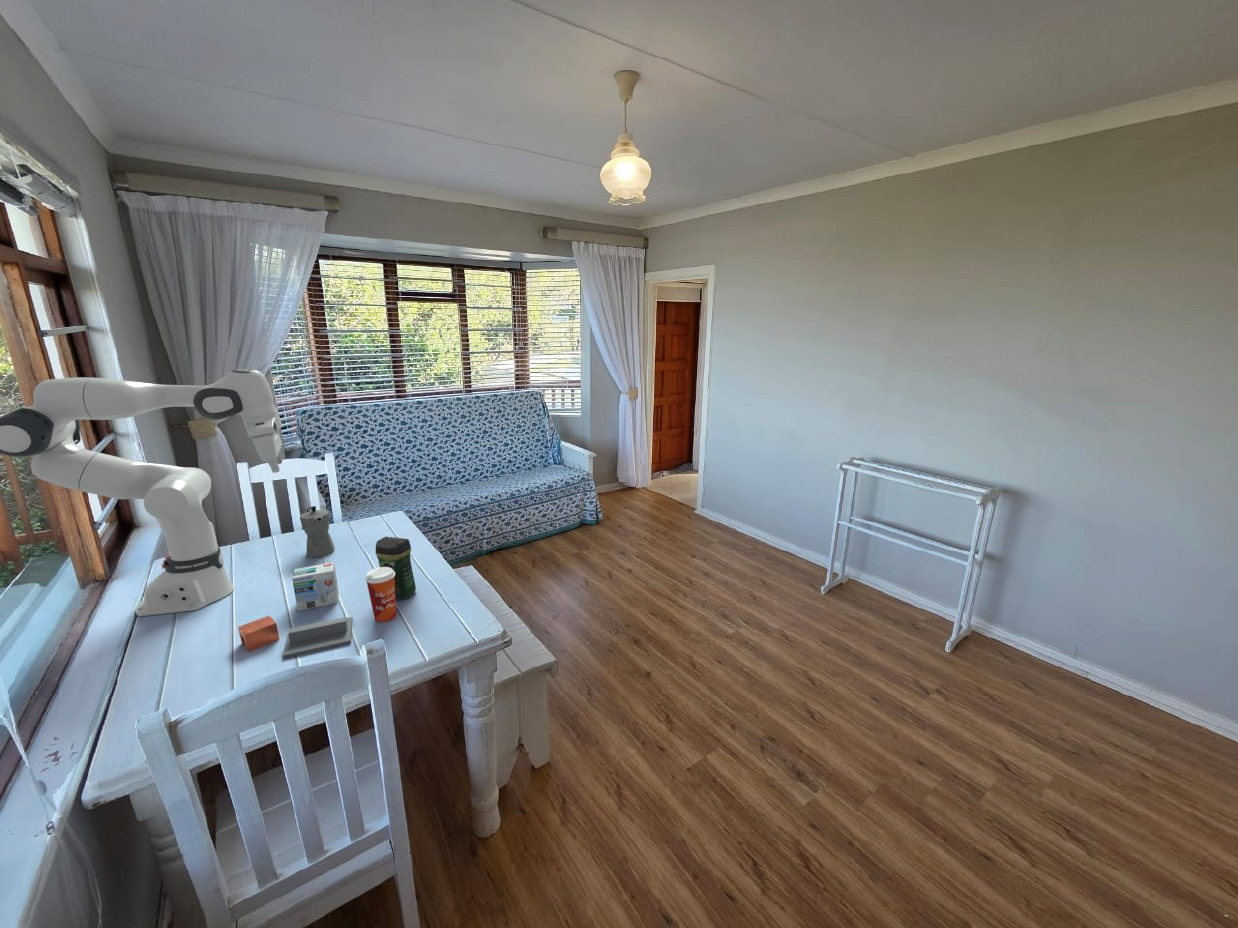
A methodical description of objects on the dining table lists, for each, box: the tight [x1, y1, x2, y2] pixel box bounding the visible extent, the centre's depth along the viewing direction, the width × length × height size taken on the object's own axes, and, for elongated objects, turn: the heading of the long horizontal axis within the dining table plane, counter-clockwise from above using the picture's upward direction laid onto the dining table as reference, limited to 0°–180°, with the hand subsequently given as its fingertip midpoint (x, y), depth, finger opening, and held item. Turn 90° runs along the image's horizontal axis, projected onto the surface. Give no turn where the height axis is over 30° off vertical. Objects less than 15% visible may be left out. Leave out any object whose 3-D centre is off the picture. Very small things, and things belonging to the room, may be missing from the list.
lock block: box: [237, 615, 280, 653], centre depth 130 cm, size 7×6×5 cm
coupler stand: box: [282, 616, 354, 660], centre depth 132 cm, size 15×12×4 cm
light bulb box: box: [291, 561, 340, 612], centre depth 148 cm, size 11×7×11 cm, turn 118°
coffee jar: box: [375, 535, 417, 601], centre depth 152 cm, size 10×8×19 cm
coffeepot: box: [299, 505, 336, 559], centre depth 181 cm, size 15×9×18 cm, turn 44°
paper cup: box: [364, 566, 397, 623], centre depth 141 cm, size 8×8×14 cm
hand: (277, 467), depth 152 cm, fingers open, 8 cm apart
